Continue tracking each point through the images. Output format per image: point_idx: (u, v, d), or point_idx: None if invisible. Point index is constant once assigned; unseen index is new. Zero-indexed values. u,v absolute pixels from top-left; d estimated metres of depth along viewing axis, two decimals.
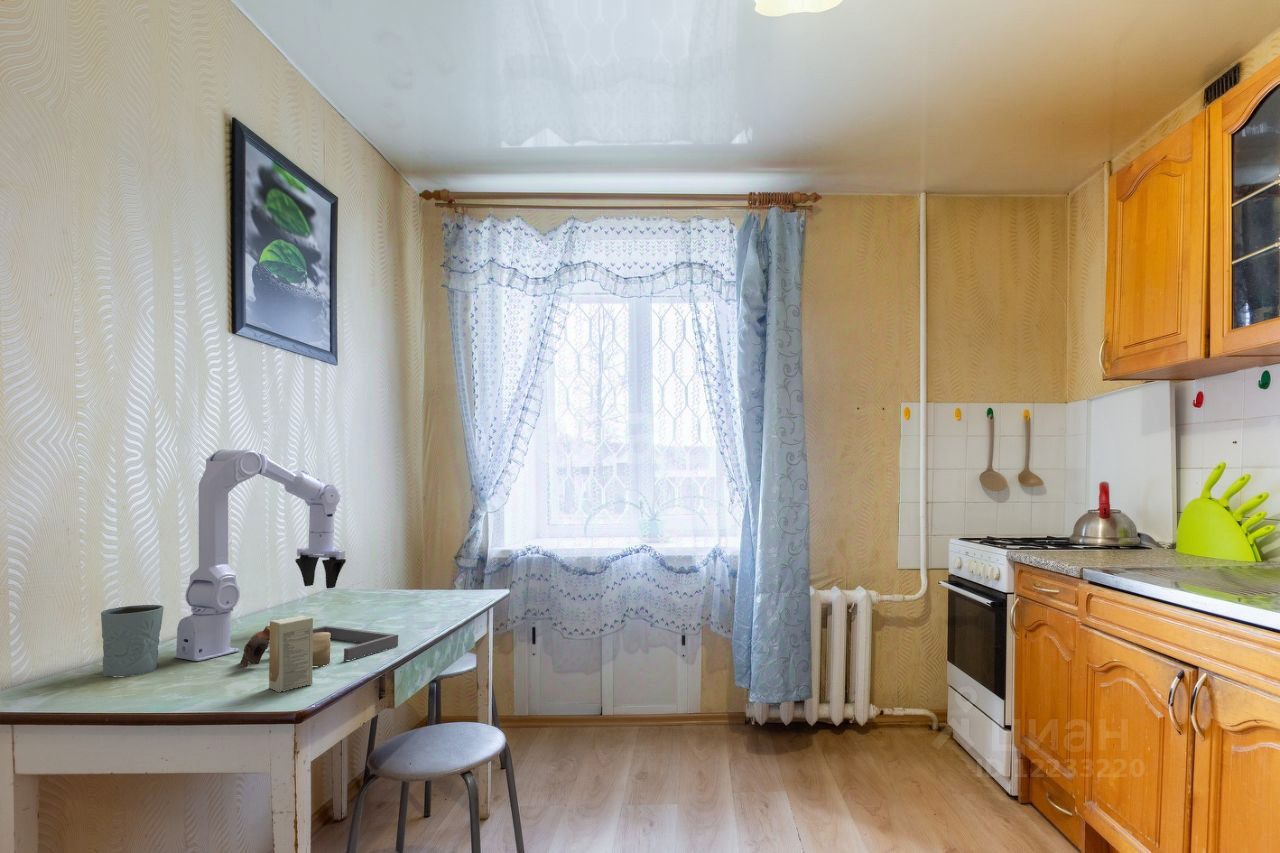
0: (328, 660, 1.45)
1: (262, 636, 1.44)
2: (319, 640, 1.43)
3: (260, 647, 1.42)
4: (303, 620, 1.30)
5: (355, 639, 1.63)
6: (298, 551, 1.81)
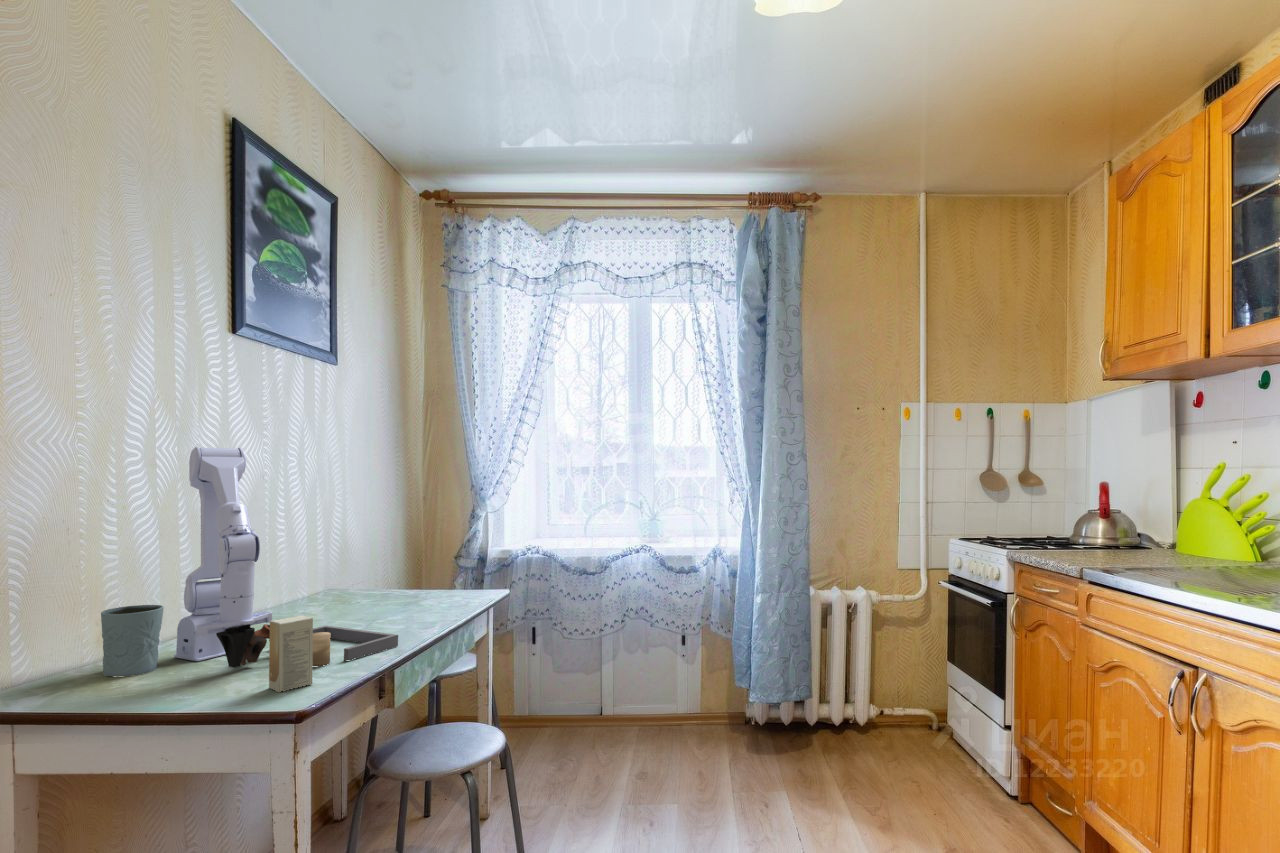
0: (328, 660, 1.45)
1: (260, 634, 1.45)
2: (319, 640, 1.43)
3: (258, 645, 1.43)
4: (303, 620, 1.30)
5: (355, 639, 1.63)
6: None
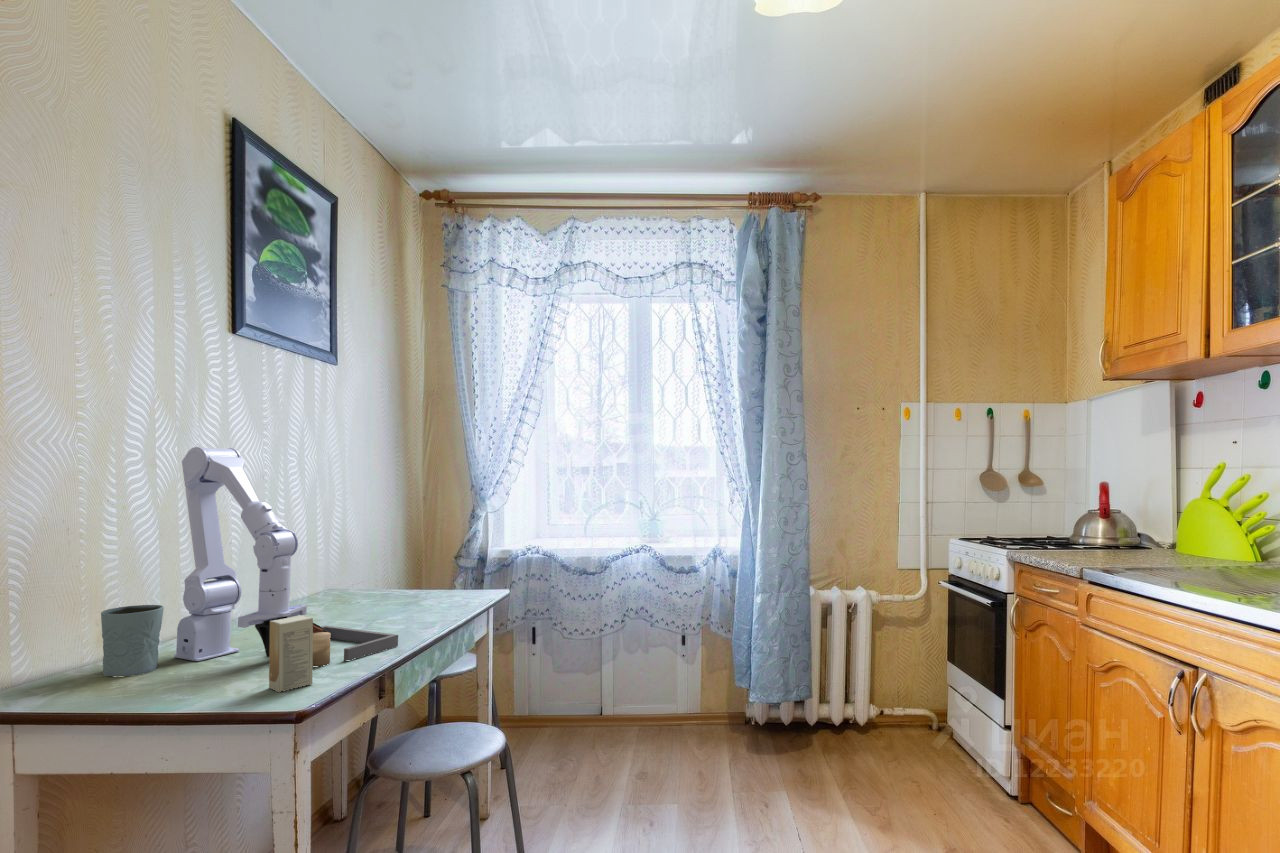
0: (328, 660, 1.45)
1: None
2: (319, 640, 1.43)
3: None
4: (303, 620, 1.30)
5: (355, 639, 1.63)
6: None
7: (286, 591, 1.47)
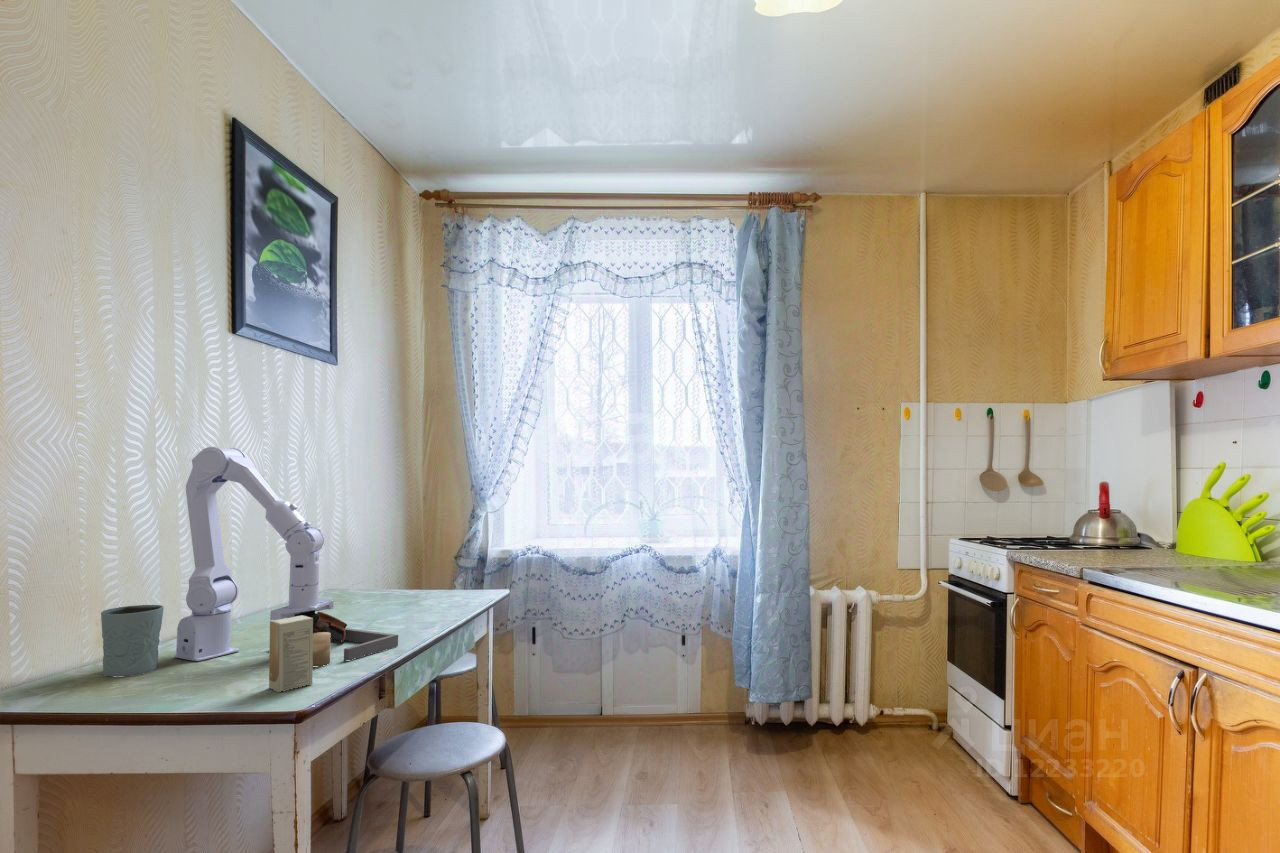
0: (328, 660, 1.45)
1: (320, 620, 1.59)
2: (319, 640, 1.43)
3: (323, 629, 1.57)
4: (303, 620, 1.30)
5: (355, 639, 1.63)
6: None
7: (315, 586, 1.54)
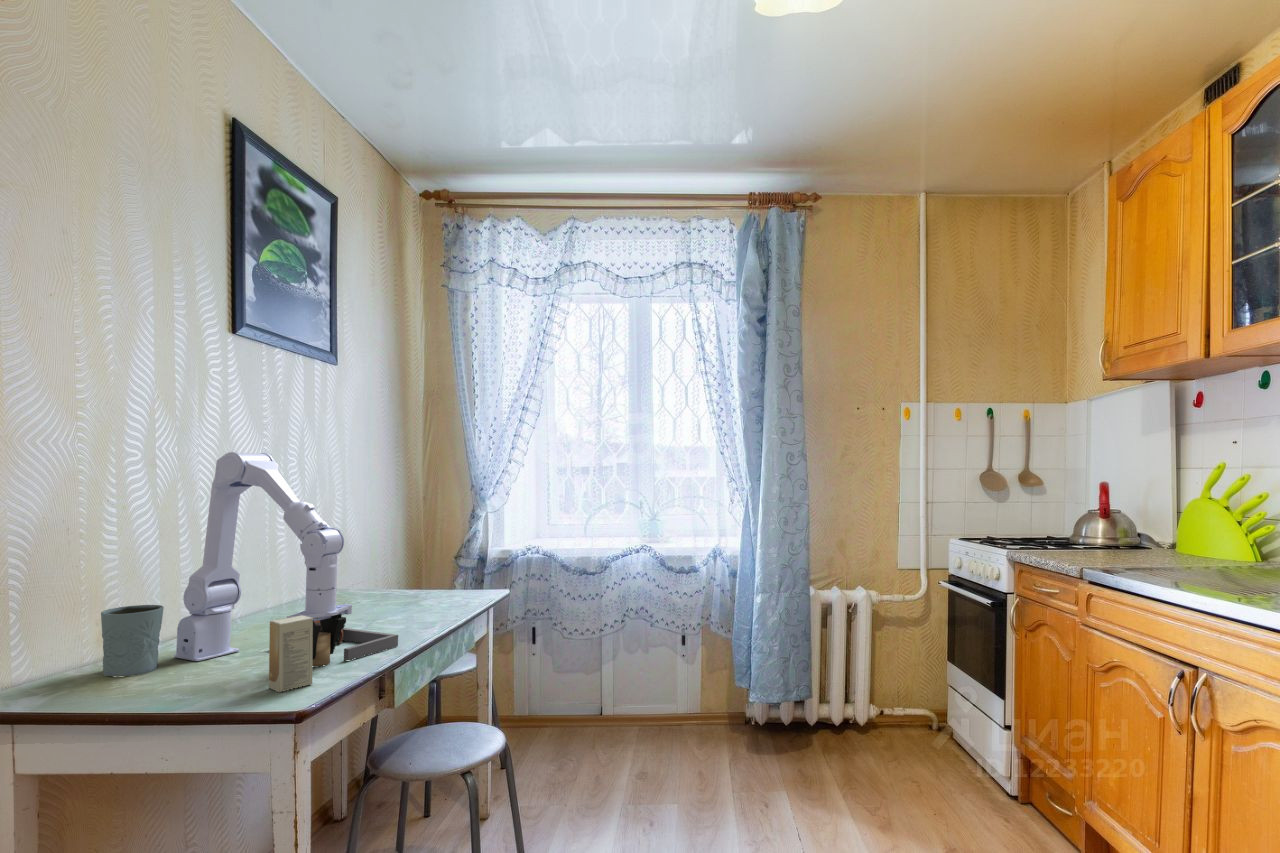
0: (328, 660, 1.45)
1: (318, 621, 1.59)
2: (319, 640, 1.43)
3: (321, 630, 1.57)
4: (303, 620, 1.30)
5: (355, 639, 1.63)
6: None
7: (333, 590, 1.45)
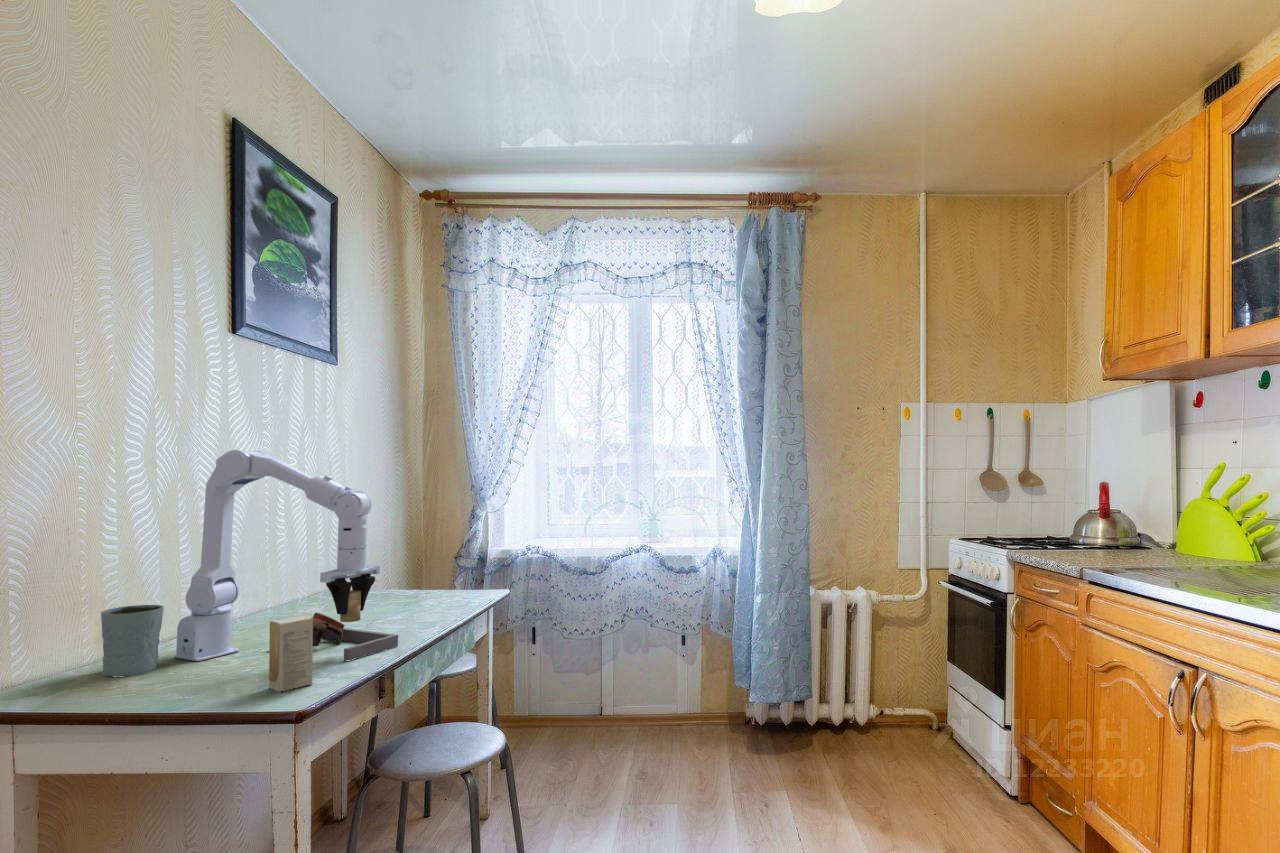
0: (359, 616, 1.53)
1: (318, 621, 1.59)
2: (351, 596, 1.51)
3: (320, 630, 1.57)
4: (303, 620, 1.30)
5: (355, 639, 1.63)
6: None
7: (363, 549, 1.53)
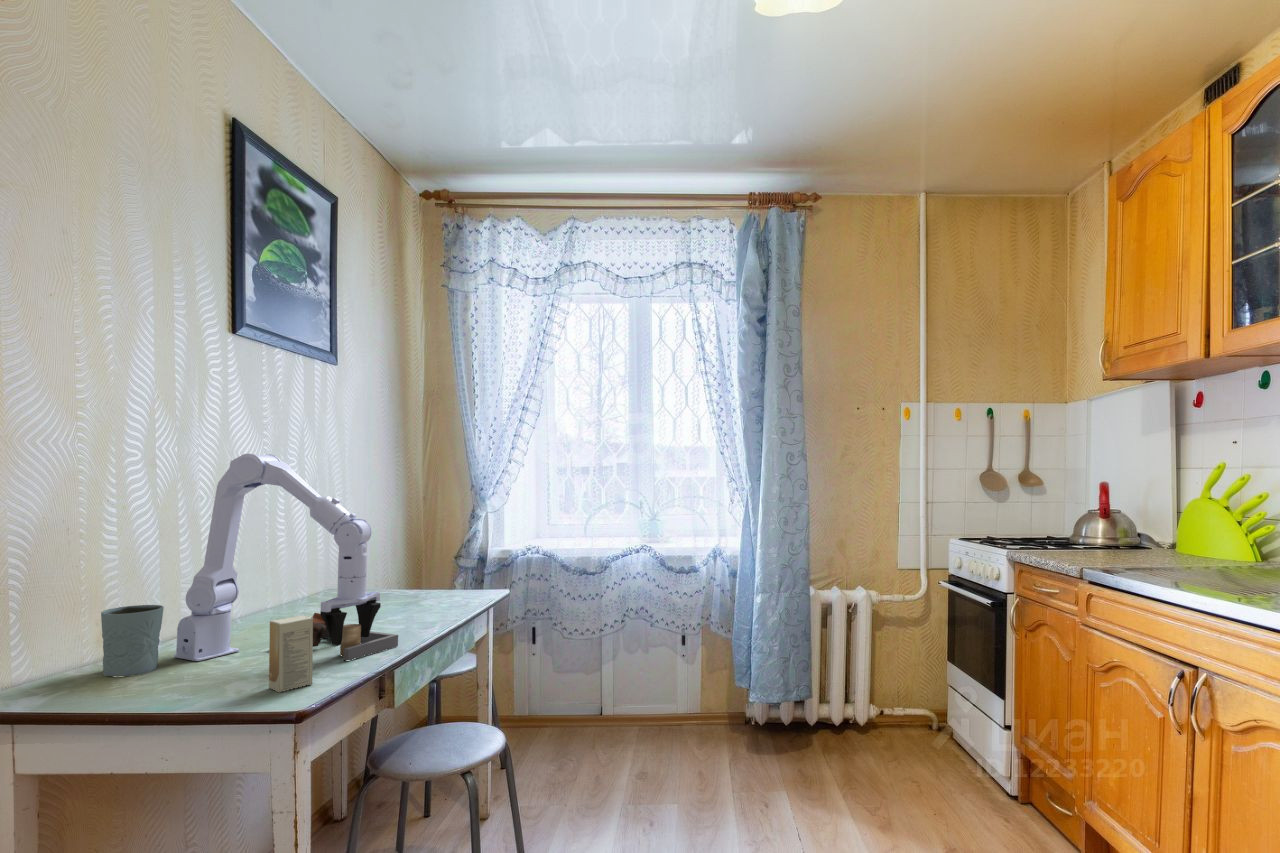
0: None
1: (317, 621, 1.58)
2: (351, 631, 1.51)
3: (320, 631, 1.57)
4: (303, 620, 1.30)
5: None
6: None
7: (364, 578, 1.53)
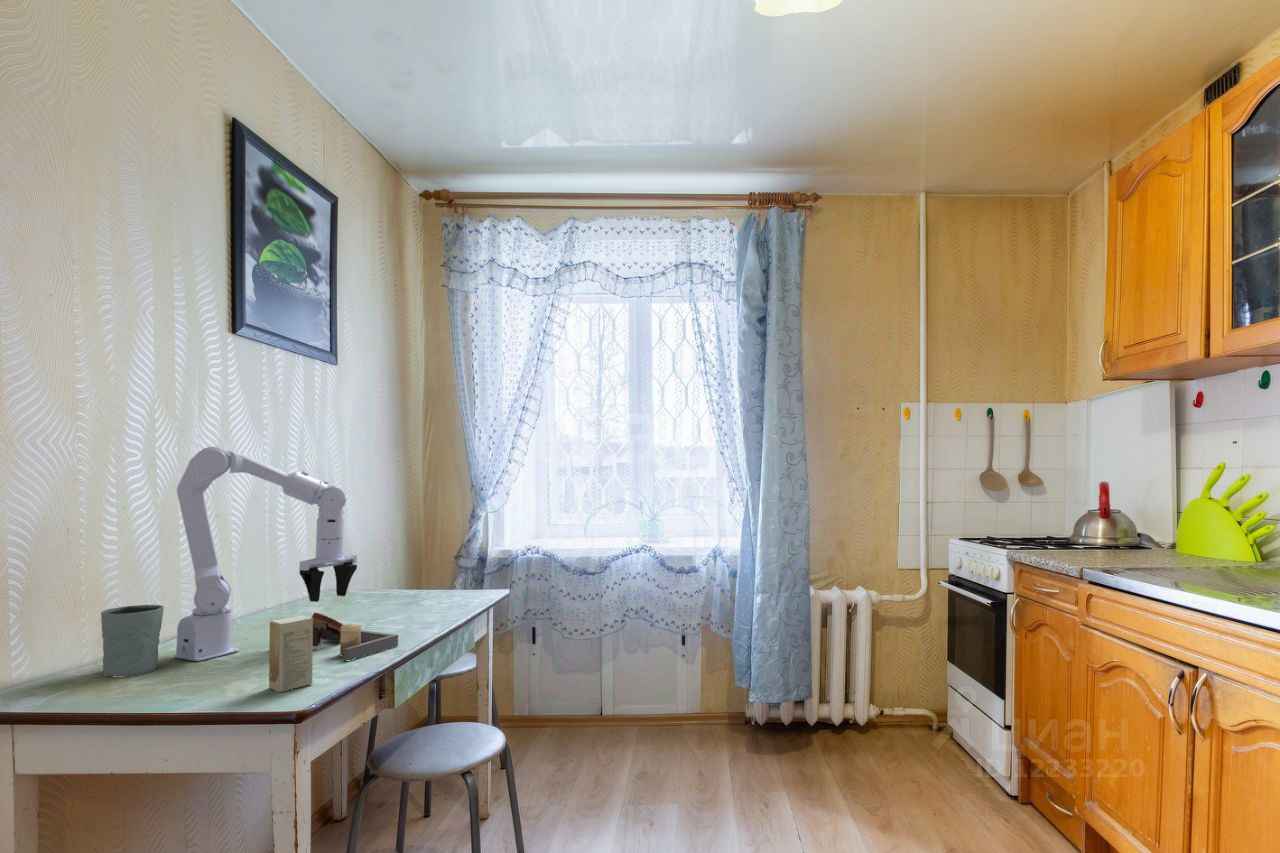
0: None
1: (317, 621, 1.58)
2: (351, 631, 1.51)
3: (320, 630, 1.57)
4: (303, 620, 1.30)
5: None
6: None
7: (340, 540, 1.64)
